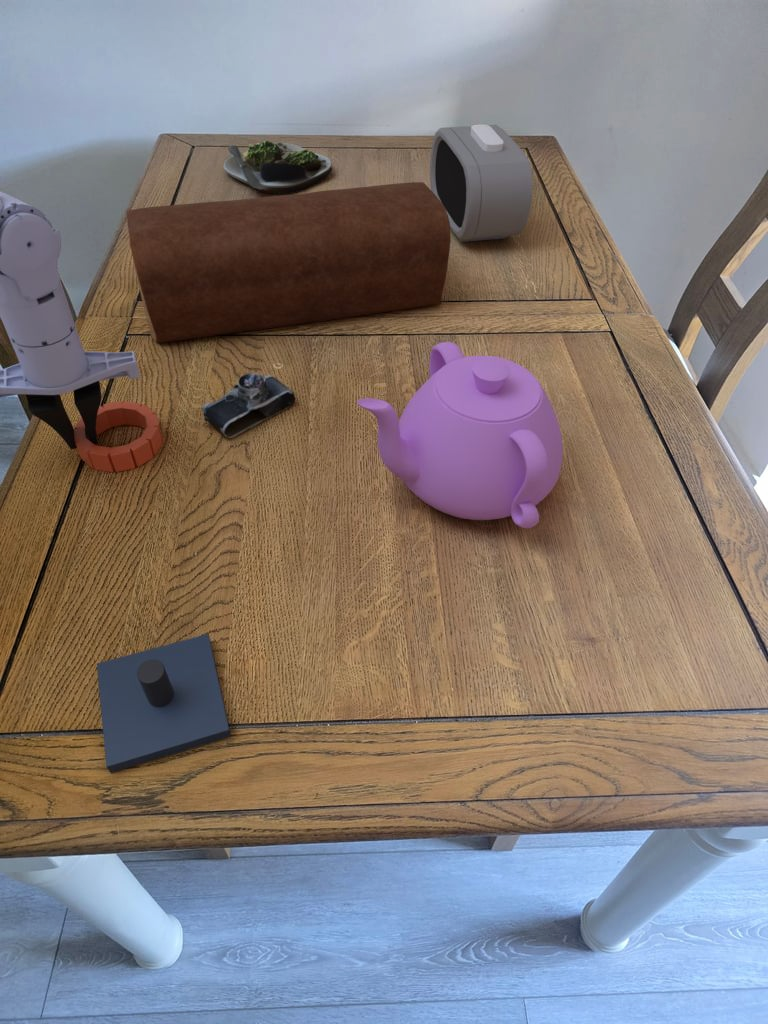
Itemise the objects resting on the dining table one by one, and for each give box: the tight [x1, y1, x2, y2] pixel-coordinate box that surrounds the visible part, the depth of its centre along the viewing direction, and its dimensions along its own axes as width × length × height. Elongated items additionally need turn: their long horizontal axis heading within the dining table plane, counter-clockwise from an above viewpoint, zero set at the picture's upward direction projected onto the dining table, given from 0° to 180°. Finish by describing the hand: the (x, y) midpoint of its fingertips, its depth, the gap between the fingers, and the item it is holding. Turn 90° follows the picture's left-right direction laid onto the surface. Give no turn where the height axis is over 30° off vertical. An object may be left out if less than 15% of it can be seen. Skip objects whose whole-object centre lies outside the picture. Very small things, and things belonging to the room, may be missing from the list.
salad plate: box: [223, 140, 333, 196], centre depth 123 cm, size 19×18×5 cm
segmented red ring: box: [73, 400, 164, 473], centre depth 75 cm, size 8×8×2 cm
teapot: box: [356, 341, 563, 529], centre depth 69 cm, size 22×22×14 cm
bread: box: [125, 181, 452, 344], centre depth 92 cm, size 16×39×13 cm, turn 107°
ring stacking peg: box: [96, 633, 232, 774], centre depth 54 cm, size 9×9×5 cm
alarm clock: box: [429, 124, 534, 243], centre depth 109 cm, size 21×10×13 cm, turn 13°
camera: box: [201, 372, 297, 439], centre depth 79 cm, size 5×10×4 cm, turn 133°
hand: (83, 440), depth 74 cm, fingers closed on segmented red ring, 1 cm apart
